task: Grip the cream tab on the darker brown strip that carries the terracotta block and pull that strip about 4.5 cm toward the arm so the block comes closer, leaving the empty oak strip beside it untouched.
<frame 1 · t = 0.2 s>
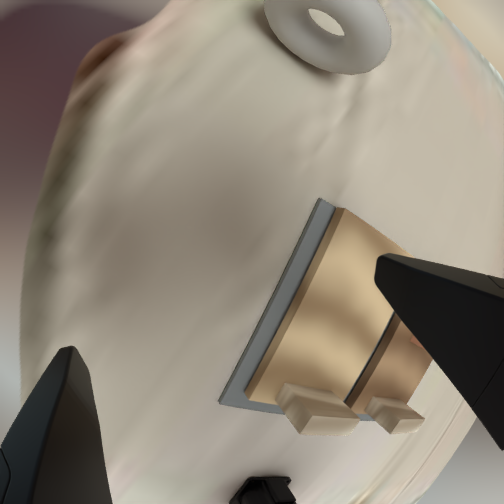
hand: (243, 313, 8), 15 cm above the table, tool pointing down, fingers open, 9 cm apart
darker brown strip: (425, 358, 30), point 4 cm above the table, slide at 0.0 cm, touching block
lane mat: (368, 342, 31), on the table
donut: (293, 45, 22), on the table
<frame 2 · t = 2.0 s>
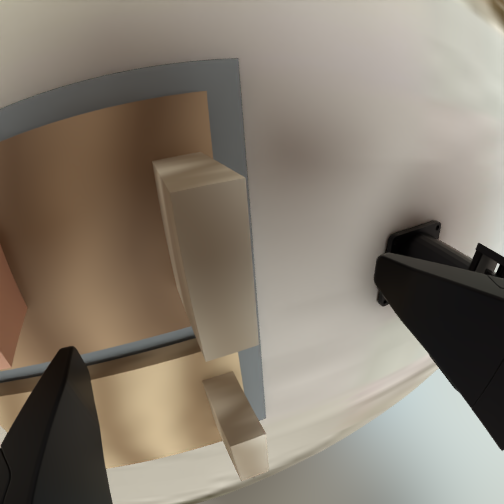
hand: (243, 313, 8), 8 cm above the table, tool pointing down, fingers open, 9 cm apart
darker brown strip: (18, 289, 9), point 4 cm above the table, slide at 0.0 cm, touching block
lane mat: (95, 341, 16), on the table
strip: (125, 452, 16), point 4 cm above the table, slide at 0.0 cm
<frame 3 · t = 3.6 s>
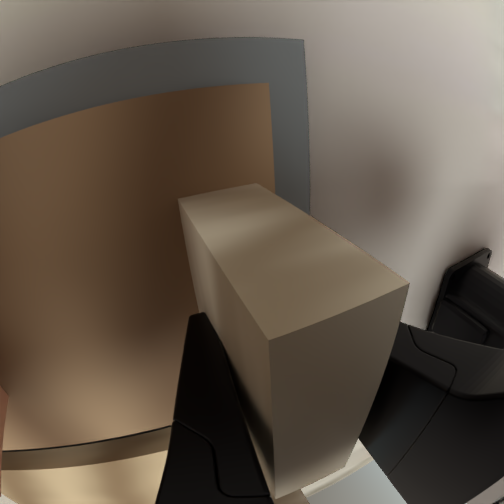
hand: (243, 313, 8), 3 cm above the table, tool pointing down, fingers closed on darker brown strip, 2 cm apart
lane mat: (101, 416, 12), on the table
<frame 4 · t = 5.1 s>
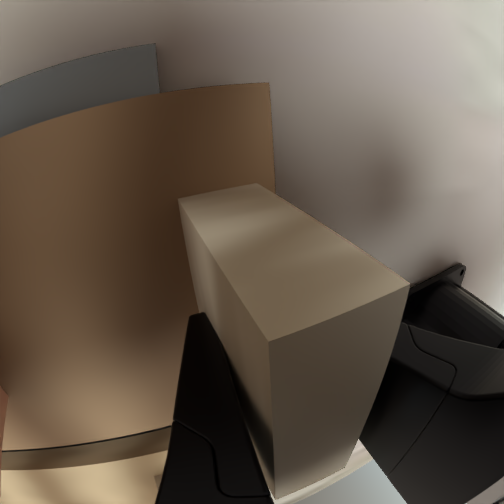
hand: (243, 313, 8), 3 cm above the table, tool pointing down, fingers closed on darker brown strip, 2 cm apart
lane mat: (27, 427, 10), on the table
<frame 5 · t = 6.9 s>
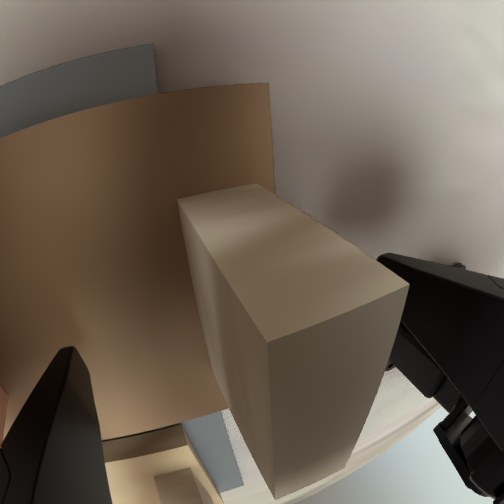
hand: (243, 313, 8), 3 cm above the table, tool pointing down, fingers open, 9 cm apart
lane mat: (27, 427, 10), on the table
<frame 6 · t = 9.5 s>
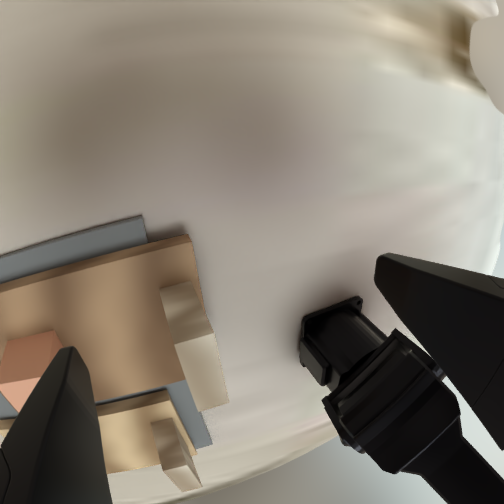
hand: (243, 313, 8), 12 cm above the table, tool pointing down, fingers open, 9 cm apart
darker brown strip: (78, 369, 16), point 4 cm above the table, slide at 4.5 cm, touching block
lane mat: (76, 395, 21), on the table
block: (42, 357, 17), point 2 cm above the table, touching darker brown strip
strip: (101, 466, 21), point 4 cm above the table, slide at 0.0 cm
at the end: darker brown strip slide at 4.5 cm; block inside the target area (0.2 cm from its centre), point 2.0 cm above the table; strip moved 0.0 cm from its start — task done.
